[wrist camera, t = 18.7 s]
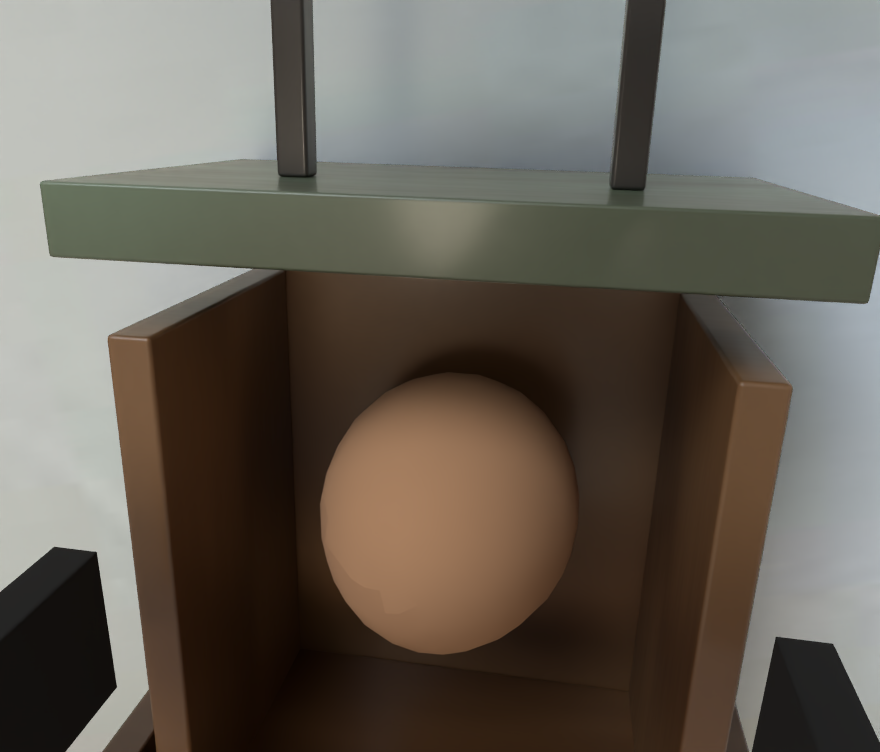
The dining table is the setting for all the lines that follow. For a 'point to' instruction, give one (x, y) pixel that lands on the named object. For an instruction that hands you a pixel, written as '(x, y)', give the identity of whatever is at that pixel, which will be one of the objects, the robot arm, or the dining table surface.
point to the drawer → (458, 351)
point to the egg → (449, 512)
